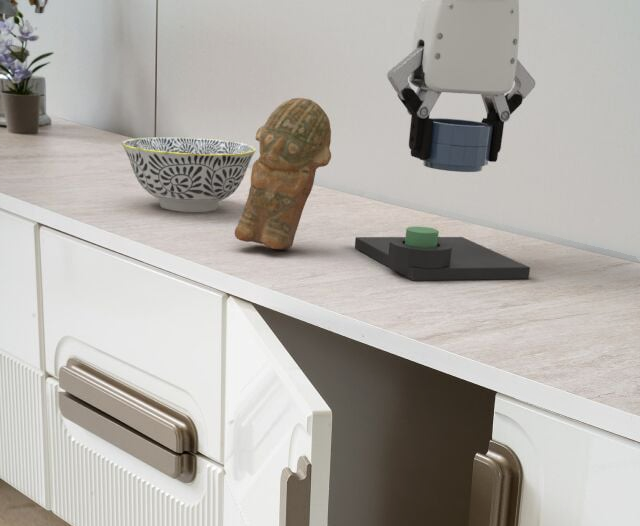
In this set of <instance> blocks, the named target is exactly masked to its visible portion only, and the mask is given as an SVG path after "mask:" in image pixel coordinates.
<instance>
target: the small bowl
mask: <svg viewBox="0 0 640 526" xmlns="http://www.w3.org/2000/svg"><path fill="white" fill-rule="evenodd" d="M430 118H431V119H433V131H432V140H431V150H430V157H429V159H427V160H421V159H419V160H420V161H422V162H423V163H422V165H423V166H424V167H426V168H429V169H432V170H433V169H434V170H439V171H440V170H441V171H447V172H459V173H477V172H482V171H483V167H486V166H488V165H489V161H488V158H489V151H490V143H491V135H492V127H493V126H492V125H491V124H488V123H483V122H481V121H477V120H470V119H469V120H468V119H457V118H448V117H447V118H443V117H430Z"/></svg>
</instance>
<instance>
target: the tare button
mask: <svg viewBox="0 0 640 526" xmlns="http://www.w3.org/2000/svg"><path fill="white" fill-rule="evenodd" d="M439 232H440V231H439V230H438V229H436V228H433V227H429V226H408V227H406V229H405V236H404V237H405V245H410V246H414V247H423V248H435V247H437V243H438V237H439Z"/></svg>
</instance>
